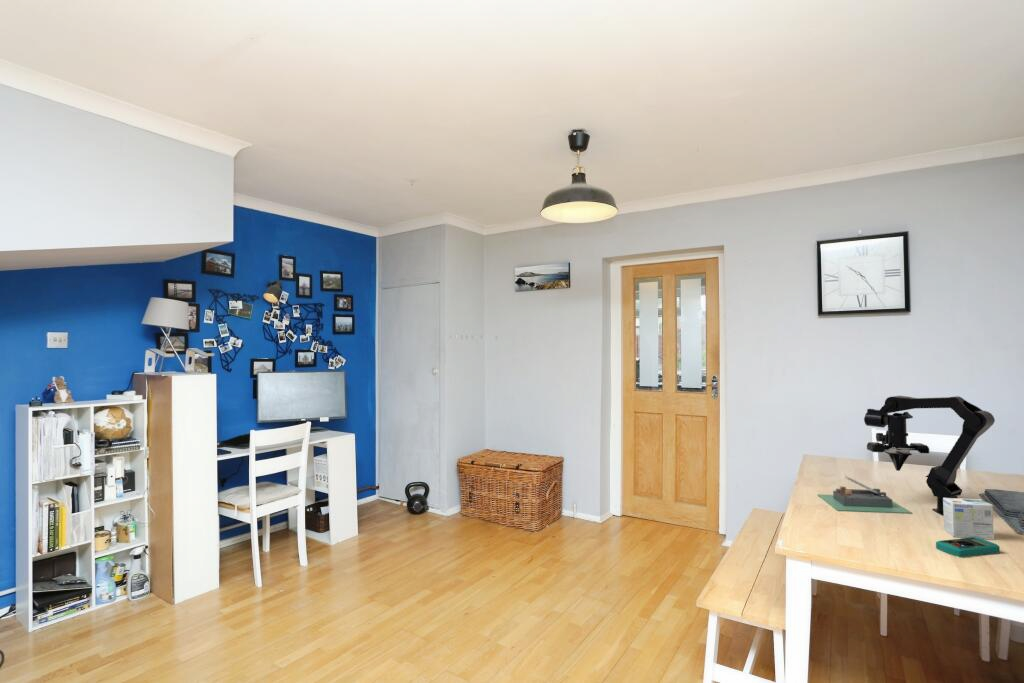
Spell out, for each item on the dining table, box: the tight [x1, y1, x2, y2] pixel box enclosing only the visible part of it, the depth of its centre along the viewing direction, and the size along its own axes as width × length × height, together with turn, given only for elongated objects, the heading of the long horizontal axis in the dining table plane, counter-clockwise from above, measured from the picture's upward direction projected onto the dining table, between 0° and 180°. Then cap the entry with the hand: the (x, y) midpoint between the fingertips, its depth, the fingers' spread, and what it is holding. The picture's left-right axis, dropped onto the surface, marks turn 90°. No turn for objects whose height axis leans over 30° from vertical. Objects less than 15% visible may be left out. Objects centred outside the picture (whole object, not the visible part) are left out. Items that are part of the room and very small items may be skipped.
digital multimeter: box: [935, 537, 1001, 558], centre depth 155 cm, size 7×15×3 cm, turn 101°
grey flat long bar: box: [844, 475, 879, 495], centre depth 200 cm, size 3×12×1 cm, turn 78°
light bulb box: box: [943, 497, 995, 540], centre depth 167 cm, size 11×7×11 cm, turn 74°
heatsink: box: [832, 486, 893, 508], centre depth 200 cm, size 10×16×5 cm, turn 79°
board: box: [817, 493, 913, 515], centre depth 200 cm, size 20×24×1 cm
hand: (897, 470), depth 201 cm, fingers closed
